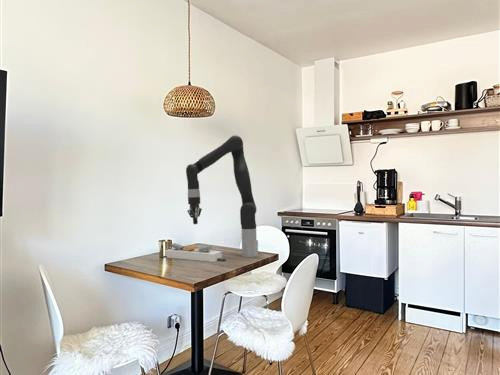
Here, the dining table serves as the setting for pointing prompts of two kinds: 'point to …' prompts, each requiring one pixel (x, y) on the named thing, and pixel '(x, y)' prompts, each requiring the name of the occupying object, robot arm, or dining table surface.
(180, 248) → the rocker far
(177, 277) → the dining table surface
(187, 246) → the rocker middle
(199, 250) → the rocker near
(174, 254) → the power strip
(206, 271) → the dining table surface
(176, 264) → the dining table surface
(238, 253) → the dining table surface
